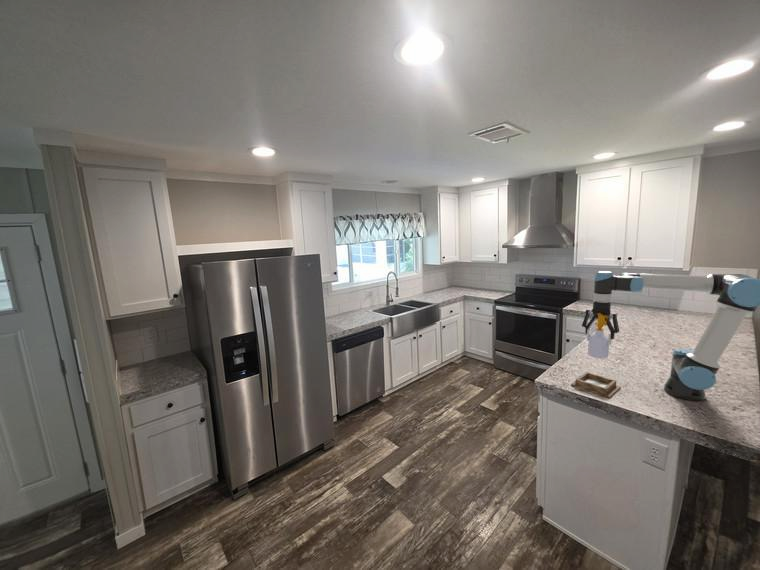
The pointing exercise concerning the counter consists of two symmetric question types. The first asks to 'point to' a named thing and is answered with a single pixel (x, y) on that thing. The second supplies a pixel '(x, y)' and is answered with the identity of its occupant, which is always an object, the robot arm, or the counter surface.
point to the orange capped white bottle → (599, 340)
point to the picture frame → (597, 384)
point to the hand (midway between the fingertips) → (598, 342)
